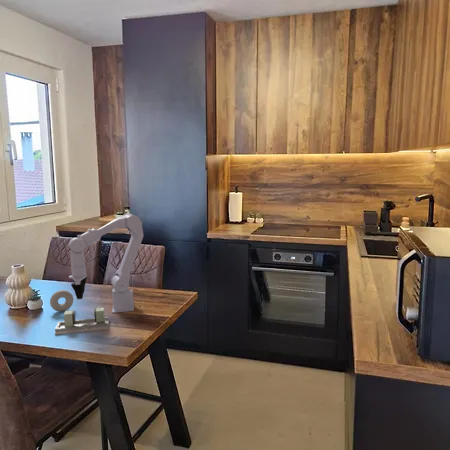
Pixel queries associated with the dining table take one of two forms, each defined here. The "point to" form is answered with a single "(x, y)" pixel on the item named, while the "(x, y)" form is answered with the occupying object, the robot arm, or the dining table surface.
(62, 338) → the dining table surface
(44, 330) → the dining table surface
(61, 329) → the tray
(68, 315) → the pale green cuboid
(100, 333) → the dining table surface
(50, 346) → the dining table surface
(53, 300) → the donut
